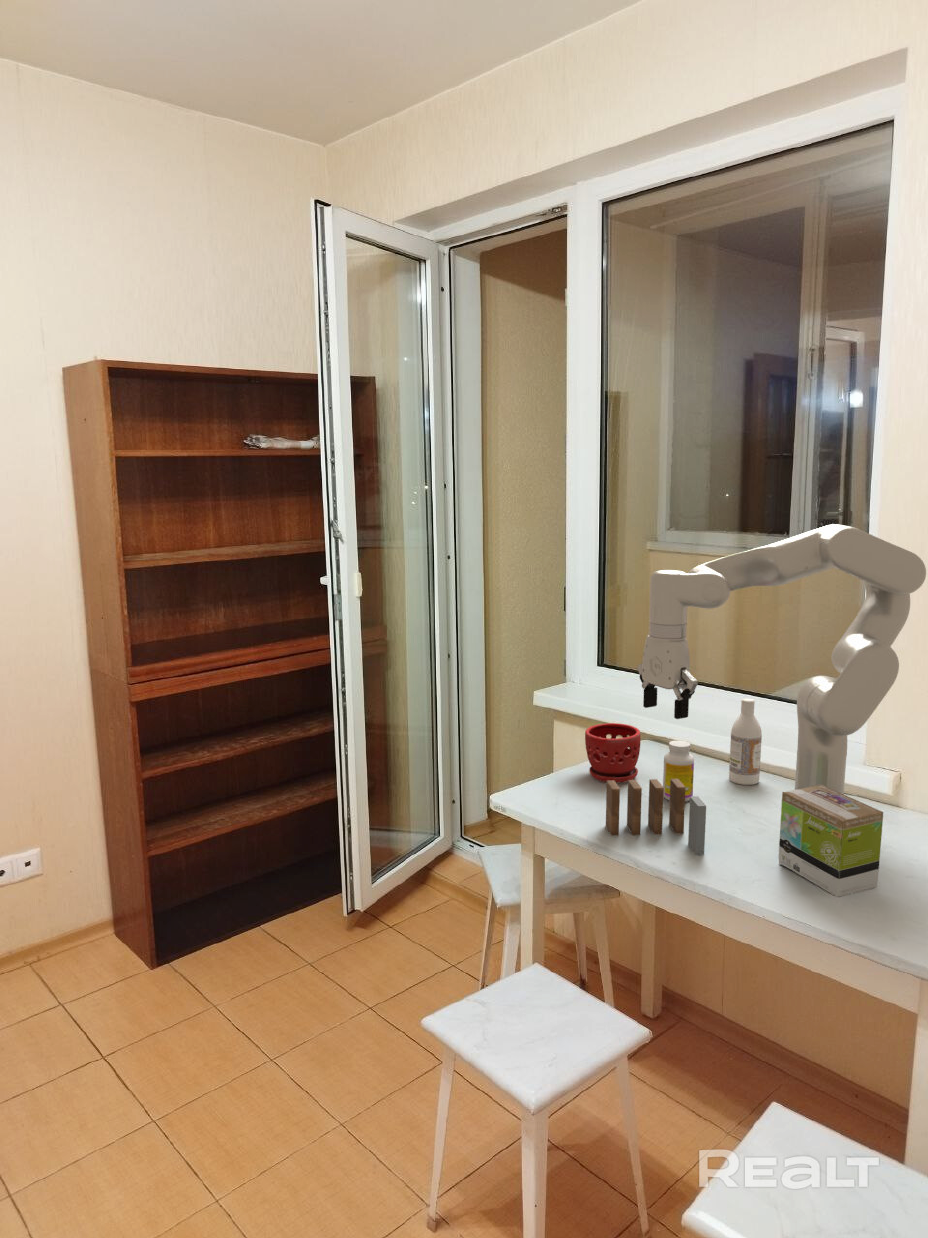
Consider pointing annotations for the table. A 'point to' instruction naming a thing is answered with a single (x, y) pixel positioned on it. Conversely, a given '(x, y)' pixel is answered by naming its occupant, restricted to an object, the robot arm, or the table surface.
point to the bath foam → (745, 746)
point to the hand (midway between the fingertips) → (665, 712)
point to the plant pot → (613, 751)
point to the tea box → (830, 839)
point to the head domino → (697, 825)
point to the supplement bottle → (678, 768)
